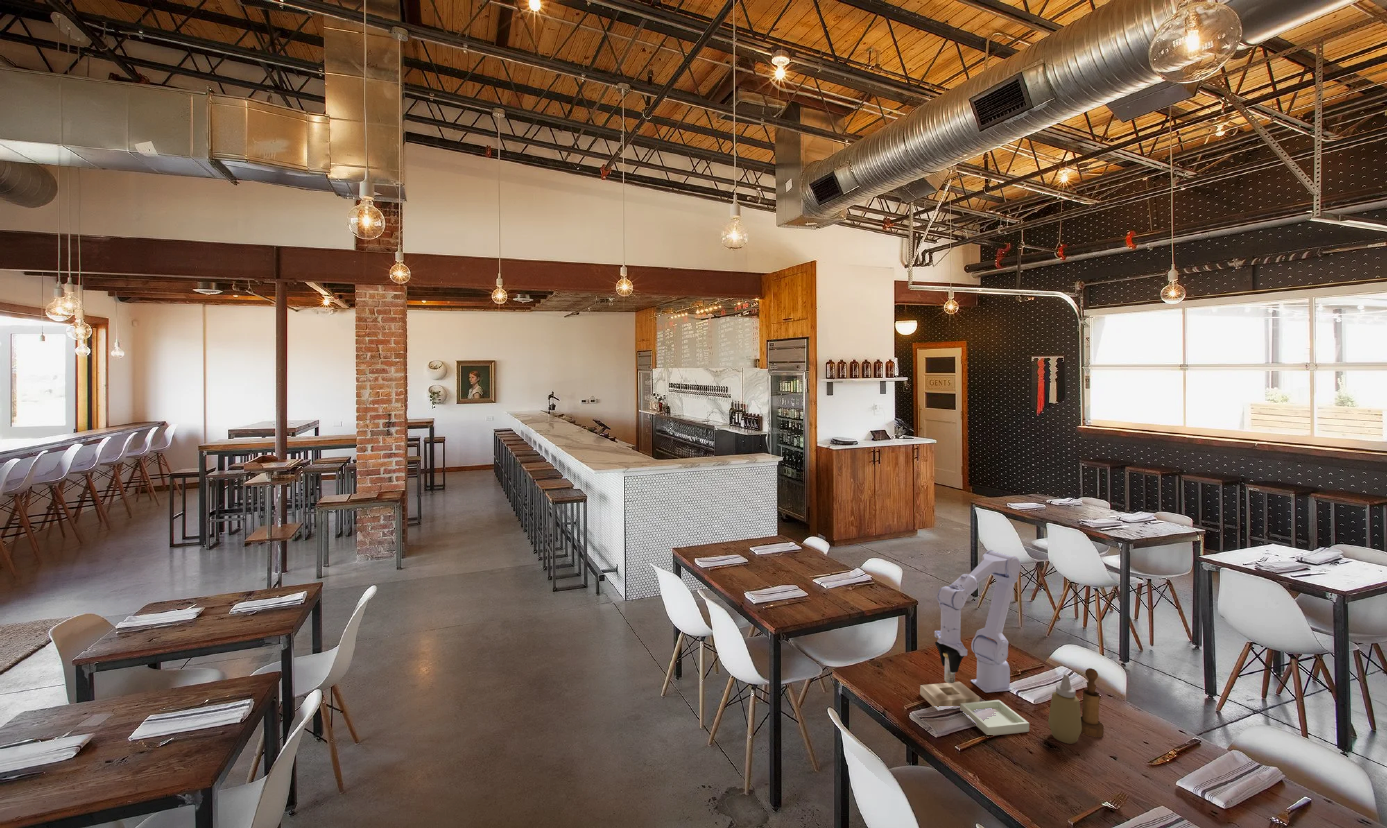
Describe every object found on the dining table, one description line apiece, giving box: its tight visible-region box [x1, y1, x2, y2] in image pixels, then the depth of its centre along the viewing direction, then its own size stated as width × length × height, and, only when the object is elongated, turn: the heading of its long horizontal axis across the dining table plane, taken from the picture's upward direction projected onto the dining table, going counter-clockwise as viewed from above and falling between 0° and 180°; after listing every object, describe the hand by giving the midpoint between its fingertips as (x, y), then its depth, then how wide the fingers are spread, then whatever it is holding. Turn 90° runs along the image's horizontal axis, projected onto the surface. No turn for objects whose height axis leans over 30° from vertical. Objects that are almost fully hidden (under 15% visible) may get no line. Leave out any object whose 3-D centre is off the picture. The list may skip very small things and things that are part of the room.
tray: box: [959, 699, 1030, 736], centre depth 177 cm, size 13×13×2 cm
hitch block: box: [919, 681, 981, 707], centre depth 189 cm, size 14×10×3 cm
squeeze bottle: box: [1047, 674, 1082, 745], centre depth 169 cm, size 8×8×18 cm
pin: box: [943, 651, 956, 683], centre depth 189 cm, size 4×4×9 cm
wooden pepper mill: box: [1081, 667, 1105, 738], centre depth 172 cm, size 7×6×18 cm
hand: (949, 668), depth 189 cm, fingers closed on pin, 4 cm apart
